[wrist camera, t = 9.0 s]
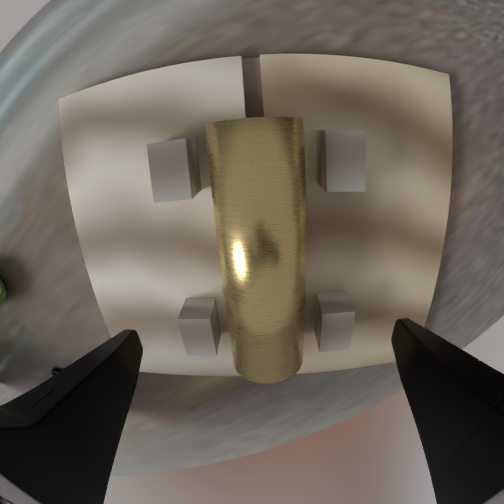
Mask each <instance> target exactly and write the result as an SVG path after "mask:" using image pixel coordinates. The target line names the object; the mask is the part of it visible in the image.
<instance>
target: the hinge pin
mask: <svg viewBox="0 0 504 504" xmlns="http://www.w3.org/2000/svg"><path fill="white" fill-rule="evenodd" d="M205 126H206V138H207V150H208V161H209V172H210V182H211V192H212V202H213V211H214V220H215V229H216V238H217V246H218V255H219V263H220V271H221V279H222V287H223V294H224V302H225V309H226V316H227V323H228V330H229V337H230V344H231V351H232V358H233V364H234V367H235V369H236V371H237V372H238V373H239V374H240V375H241V376H242V377H244V378H246V379H247V380H250V381H253V382H256V383H264V384H269V383H277V382H281V381H284V380H286V379H288V378H290V377H292V376H293V375H294V374H296V373H297V372H298V371H299V369H300V368H301V366H302V363H303V352H304V332H305V306H306V257H307V218H306V170H305V144H304V125H303V118H301V117H253V118H240V119H231V120H223V121H216V122H211V123H207V124H205Z"/></svg>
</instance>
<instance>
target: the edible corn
mask: <svg viewBox="0 0 504 504" xmlns="http://www.w3.org/2000/svg"><path fill="white" fill-rule="evenodd" d="M6 292H7V290H5V287H4V284H3V282H2V281H1V278H0V308H1V307H2V304H3V300H4V299H5V297H6Z"/></svg>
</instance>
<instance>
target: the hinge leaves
mask: <svg viewBox="0 0 504 504" xmlns="http://www.w3.org/2000/svg"><path fill="white" fill-rule="evenodd" d="M59 114H60V128H61V139H62V149H63V157H64V165H65V172H66V178H67V184H68V190H69V196H70V201H71V206H72V211H73V216H74V220H75V225H76V229H77V233H78V238H79V242H80V245H81V249H82V253H83V257H84V260H85V264H86V267H87V271H88V274H89V277H90V281H91V284H92V287H93V290H94V293H95V296H96V299H97V302H98V305H99V308H100V310H101V313H102V316H103V319H104V321H105V324H106V326H107V329H108V332H109V334H110V337H111V338H112V337H114V336H115V335H117V334H118V333H120V332H122V331H123V330H125V329H134V330H136V331H137V333H138V335H139V338H140V341H141V344H142V347H143V356H142V360H141V365H140V370H139V372H149V373H161V374H176V375H197V376H241V375H240V374H239V373H238V372H237V371H236V369H235V367H234V364H233V358H232V351H231V344H230V337H229V330H228V323H227V316H226V309H225V302H224V294H223V287H222V279H221V271H220V263H219V255H218V246H217V238H216V229H215V220H214V211H213V202H212V192H211V182H210V172H209V161H208V150H207V138H206V126H205V124H207V123H211V122H216V121H223V120H231V119H240V118H253V117H301V118H303V125H304V144H305V170H306V218H307V257H306V306H305V332H304V352H303V363H302V366H301V368H300V369H299V371H298V372H297V373H296V374H303V373H315V372H326V371H336V370H344V369H352V368H360V367H367V366H374V365H380V364H386V363H392V362H396V359H395V355H394V351H393V347H392V343H391V337H392V333H393V329H394V325H395V322H396V320H397V319H401V318H409V319H411V320H412V321H414V322H416V323H417V324H419V325H421V326H423V327H425V324H426V320H427V317H428V313H429V310H430V306H431V302H432V298H433V294H434V290H435V286H436V282H437V277H438V273H439V268H440V263H441V258H442V252H443V247H444V241H445V234H446V227H447V220H448V212H449V203H450V192H451V178H452V154H453V126H452V104H451V90H450V80H449V74H445V73H442V72H438V71H434V70H430V69H425V68H421V67H416V66H411V65H406V64H401V63H396V62H390V61H383V60H376V59H369V58H360V57H351V56H339V55H323V54H263V55H260V57H257V58H241V56H234V57H224V58H216V59H208V60H201V61H194V62H188V63H182V64H177V65H172V66H167V67H162V68H157V69H153V70H148V71H144V72H140V73H136V74H132V75H129V76H125V77H121V78H118V79H115V80H111V81H108V82H105V83H102V84H99V85H96V86H93V87H90V88H87V89H84V90H81V91H79V92H76V93H73V94H71V95H68V96H65V97H63V98H61V99H59Z"/></svg>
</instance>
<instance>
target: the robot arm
mask: <svg viewBox="0 0 504 504" xmlns="http://www.w3.org/2000/svg"><path fill="white" fill-rule="evenodd" d="M391 343H392V347H393V351H394V355H395V359H396V363H397V367H398V371H399V375H400V379H401V382H402V385H403V387H404V390H405V393H406V396H407V399H408V402H409V405H410V407H411V411H412V414H413V416H414V419H415V423H416V426H417V429H418V432H419V436H420V439H421V442H422V446H423V449H424V453H425V456H426V460H427V463H428V467H429V471H430V475H431V480H432V484H433V488H434V492H435V497H436V501H437V504H504V374H503V373H501V372H499V371H497V370H495V369H493V368H492V367H490V366H488V365H487V364H485V363H483V362H482V361H478V359H477V358H475V357H473V356H472V355H470V354H468V353H467V352H465V351H463V350H462V349H460V348H458V347H457V346H455V345H453V344H451V343H450V342H448V341H446V340H445V339H443V338H441V337H440V336H438V335H436V334H435V333H433V332H431V331H429V330H428V329H426V328H424V327H423V326H421V325H419V324H417V323H416V322H414V321H412V320H411V319H409V318H401V319H397V320H396V322H395V325H394V329H393V333H392V337H391ZM142 356H143V347H142V344H141V341H140V338H139V335H138V333H137V331H136V330H134V329H125V330H123V331H122V332H120V333H118V334H117V335H115V336H114V337H112V338H111V339H109V340H108V341H106V342H105V343H103V344H102V345H100V346H98V347H97V348H95V349H94V350H92V351H91V352H89V353H88V354H86V355H85V356H83V357H82V358H80V359H79V360H77V361H75V362H74V363H72V364H71V365H69V366H68V367H66V368H65V369H63V370H59V369H55V368H53V369H52V370H51V373H52V375H53V376H52V377H51V378H49V379H48V380H46V381H45V382H43V383H42V384H40V385H38V386H37V387H35V388H33V389H31V390H30V391H28V392H26V393H24V394H22V395H20V396H19V397H17V398H15V399H13V400H11V401H9V402H7V403H6V404H3V405H1V406H0V504H103V503H104V498H105V494H106V490H107V485H108V481H109V477H110V473H111V470H112V466H113V462H114V458H115V455H116V451H117V448H118V444H119V440H120V437H121V434H122V430H123V427H124V424H125V420H126V417H127V414H128V410H129V407H130V404H131V401H132V398H133V395H134V391H135V388H136V384H137V379H138V374H139V370H140V365H141V360H142Z"/></svg>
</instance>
